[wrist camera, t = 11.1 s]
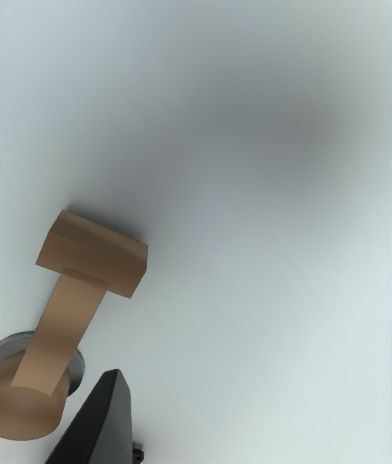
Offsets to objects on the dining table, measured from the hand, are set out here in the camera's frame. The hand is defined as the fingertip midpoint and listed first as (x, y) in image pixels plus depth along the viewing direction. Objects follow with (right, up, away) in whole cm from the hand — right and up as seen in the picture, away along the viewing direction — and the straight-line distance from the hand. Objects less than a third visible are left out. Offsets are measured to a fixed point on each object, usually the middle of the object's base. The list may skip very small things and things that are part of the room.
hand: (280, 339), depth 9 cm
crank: (-11, -3, +12) cm, 17 cm away
